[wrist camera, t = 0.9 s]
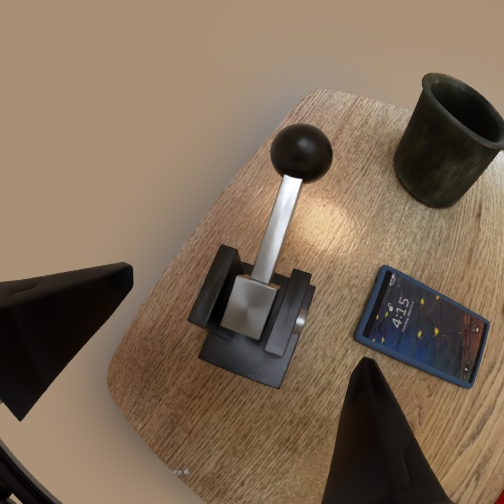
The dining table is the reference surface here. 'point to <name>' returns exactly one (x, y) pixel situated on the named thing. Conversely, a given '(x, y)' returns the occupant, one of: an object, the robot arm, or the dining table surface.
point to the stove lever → (277, 226)
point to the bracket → (239, 345)
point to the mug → (447, 141)
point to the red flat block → (500, 499)
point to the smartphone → (423, 328)
